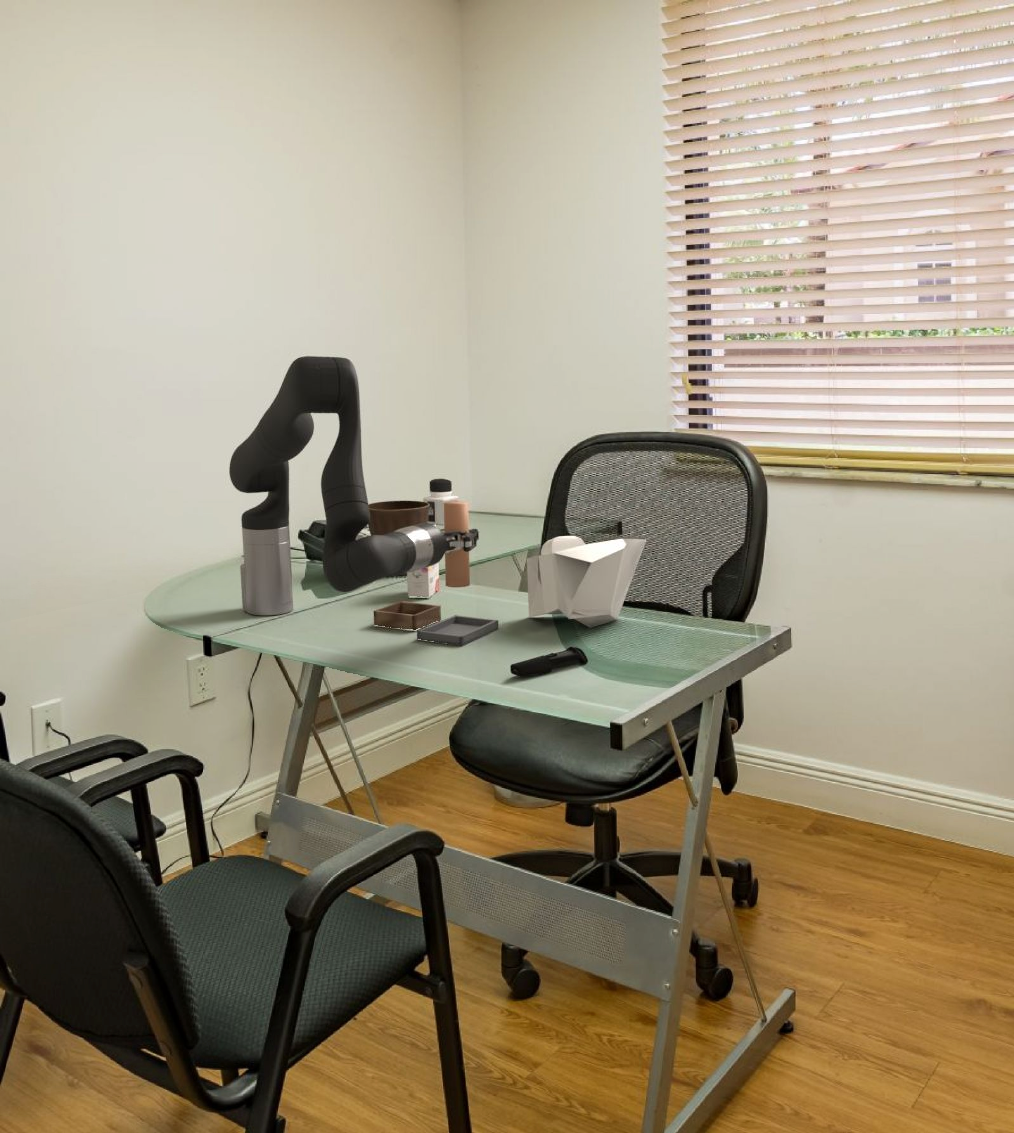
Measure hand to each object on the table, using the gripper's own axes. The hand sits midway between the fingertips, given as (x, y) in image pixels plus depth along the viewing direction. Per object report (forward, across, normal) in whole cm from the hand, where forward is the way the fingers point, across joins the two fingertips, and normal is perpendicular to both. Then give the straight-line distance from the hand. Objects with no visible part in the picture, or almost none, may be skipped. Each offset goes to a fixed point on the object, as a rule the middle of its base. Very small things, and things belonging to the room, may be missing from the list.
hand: (464, 533), depth 208 cm
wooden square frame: (0, +13, +18) cm, 23 cm away
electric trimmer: (-16, -25, +19) cm, 35 cm away
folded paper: (+17, -18, +19) cm, 31 cm away
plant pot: (+41, +42, +18) cm, 61 cm away
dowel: (-3, 0, +9) cm, 9 cm away
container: (+109, +72, +17) cm, 132 cm away
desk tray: (-3, 0, +18) cm, 19 cm away
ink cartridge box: (+23, +24, +18) cm, 38 cm away
